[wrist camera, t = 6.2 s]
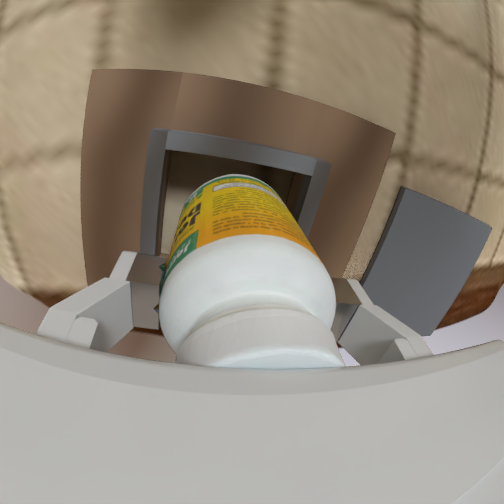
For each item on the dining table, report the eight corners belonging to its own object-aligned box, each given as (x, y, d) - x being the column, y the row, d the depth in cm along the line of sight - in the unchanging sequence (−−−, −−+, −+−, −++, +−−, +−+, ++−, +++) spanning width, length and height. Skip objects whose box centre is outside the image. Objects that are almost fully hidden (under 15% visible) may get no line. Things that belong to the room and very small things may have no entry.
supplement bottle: (270, 273, 16) (318, 436, 7) (174, 260, 14) (150, 436, 6) (299, 183, 13) (417, 326, 5) (188, 161, 12) (136, 308, 4)
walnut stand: (381, 129, 14) (406, 136, 12) (312, 311, 21) (322, 335, 18) (103, 71, 10) (83, 68, 8) (97, 288, 17) (86, 312, 15)
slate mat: (489, 225, 19) (492, 227, 19) (428, 332, 26) (430, 335, 25) (401, 186, 16) (405, 188, 16) (330, 337, 23) (332, 342, 22)
